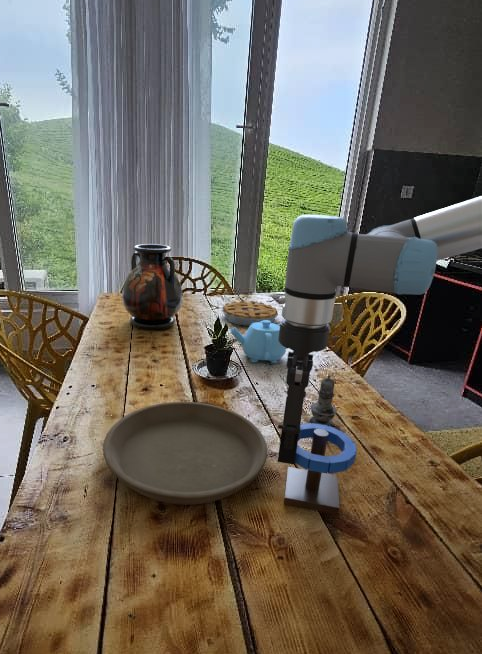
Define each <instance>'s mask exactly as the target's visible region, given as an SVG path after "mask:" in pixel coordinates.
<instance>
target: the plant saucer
mask: <svg viewBox="0 0 482 654" xmlns="http://www.w3.org/2000/svg"><path fill="white" fill-rule="evenodd" d="M104 437H105V438H104V441H103V447H102V451H103V457H104V461H105V463H106V465H107V467H108V468H109V470H110V471H111V472H112V473H113V475H114V476H115V477H116V478H117V480H119V481H120V482H121V483H122V484H124V485H125V486H126V487H127V488H129V489H131V490H132V491H135V492H136V493H138V494H139V495H142V496H143V497H146V498H148V499H150V500H153V501H157V502H159V503H165V504H170V505H179V506H193V505H202V504H208V503H213V502H216V501H220V500H222V499H225V498H227V497H229V496H231V495H233V494H235V493H237V492H239V491H241V490H243V489H244V488H245V487H247V486H248V485H249V484H251V483H252V482H253V481H254V480H255V479H256V478H257V477H258V476H259V475H260V474H261V472H262V471H263V469H264V467H265V465H266V462H267V459H268V445H267V442H266V440H265V437H264V435H263V433H262V431H260V430H259V428H258V427H257V426H256V425H255V424H254V423H253V422H252V421H250V420H249V419H248V418H246V417H244V416H243V415H242V414H240V413H237V412H235V411H233V410H230V409H228V408H225V407H222V406H219V405H214V404H210V403H203V402H194V401H172V402H171V401H170V402H169V401H168V402H162V403H156V404H152V405H148V406H145V407H142V408H138V409H137V410H134V411H132V412H129V413H128V414H125V416H123V417H122V418H120V419H119V420H117V422H115V423H114V424H113V425H112V427H110V428H109V430H108V431H107V433H106V436H104Z"/></svg>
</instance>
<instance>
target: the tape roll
mask: <svg viewBox="0 0 482 654" xmlns="http://www.w3.org/2000/svg"><path fill="white" fill-rule="evenodd" d="M300 429H301V430H300V433H299V437H298V441H300V440H304V439H311V438H312V439H313V433H314V430H315V429H323V430H326V431H327V432H328V440H327V443H328V442H329V443H331V444H332V445H335V446H336V447H337V448H338V449H339V450H340V451H341V452H340V453H339V454H334V455H327V456H326V455H325V456H321V455H316V454H312V453H310V452H311V451H308V450H306V449H304V448H302V447H301V446H300V445H299V443H298V444H297V451H296V457H295V464H294V465H297V466H299V467H301V468H302V469H304V470H308V468H309V470H310V471H316V472H321V473H326V474H336V473H343V472H345V471H347V470H349V469H350V468H351V467H352V466H353V465H354V464H355V462H356V458H357V454H358V452H357V444H356V442H355V441H354V440H353V439H352V438H351V437H350V436H349V435H348V434H347V433H345V431H341V430H339V429H337V428H335V427H333V426H332V427H330V426H329V427H328V426H327V425H321V424H315V423H310V422H306V423H300Z"/></svg>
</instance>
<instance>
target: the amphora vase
mask: <svg viewBox="0 0 482 654" xmlns="http://www.w3.org/2000/svg"><path fill="white" fill-rule="evenodd" d="M133 250H134V251H135V252H134V253H132V256H131V260H130V265H131V270H130V272H129V273H128V275H127V277H126V279H125V281H124V284H123V287H122V293H121V300H122V304H123V307H124V308H125V310H126V312H127V313H128V314H129V315H130V316H131V317H130V319H129V323H130V324H131V325H132V327H135V328H137V329H140V330H145V331H160V330H161V331H162V330H166V329H169V328H171V327H173V326H174V325H175V323H176V319H175V317H174V316H175V315H176V314H177V313H178V312H179V310H180V309H181V307H182V304H183V290H182V289H183V288H182V285H181V282H180V279H179V278H178V276H177V274H176V265H175V261H174V259H173V257H170V256H166V255H167V254H168V253H170V252H172V247H170V246H169V245H166V244H158V243H144V244H143V243H142V244H137V245H135V246H133ZM138 258H139V262H138V263H137V260H138ZM167 263H168V264H169V265H168V264H167Z"/></svg>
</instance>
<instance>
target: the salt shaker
mask: <svg viewBox="0 0 482 654" xmlns="http://www.w3.org/2000/svg"><path fill="white" fill-rule="evenodd" d="M320 381H321V382H320V388H319V390H318V391H317V394H318V397H317V401H316V402H314V403H311V405H310V407H309V408H310V412H311V414H312V417H310V418H309V423H310V424H311V423H315V424H321V425H327V426H328V427H329V426H330V427H333V426H334V422H333V421H332V420H333V419H334V417H335V416H336V414H337V413H338V409H337V408H336V407H335V406H334V405H333V398H334V397H335V393H334V390H335V383H336V382H335V380H333V379H332V378H331V375H330V374H328V375H327V377H324V378H322V379H321V380H320Z"/></svg>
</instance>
